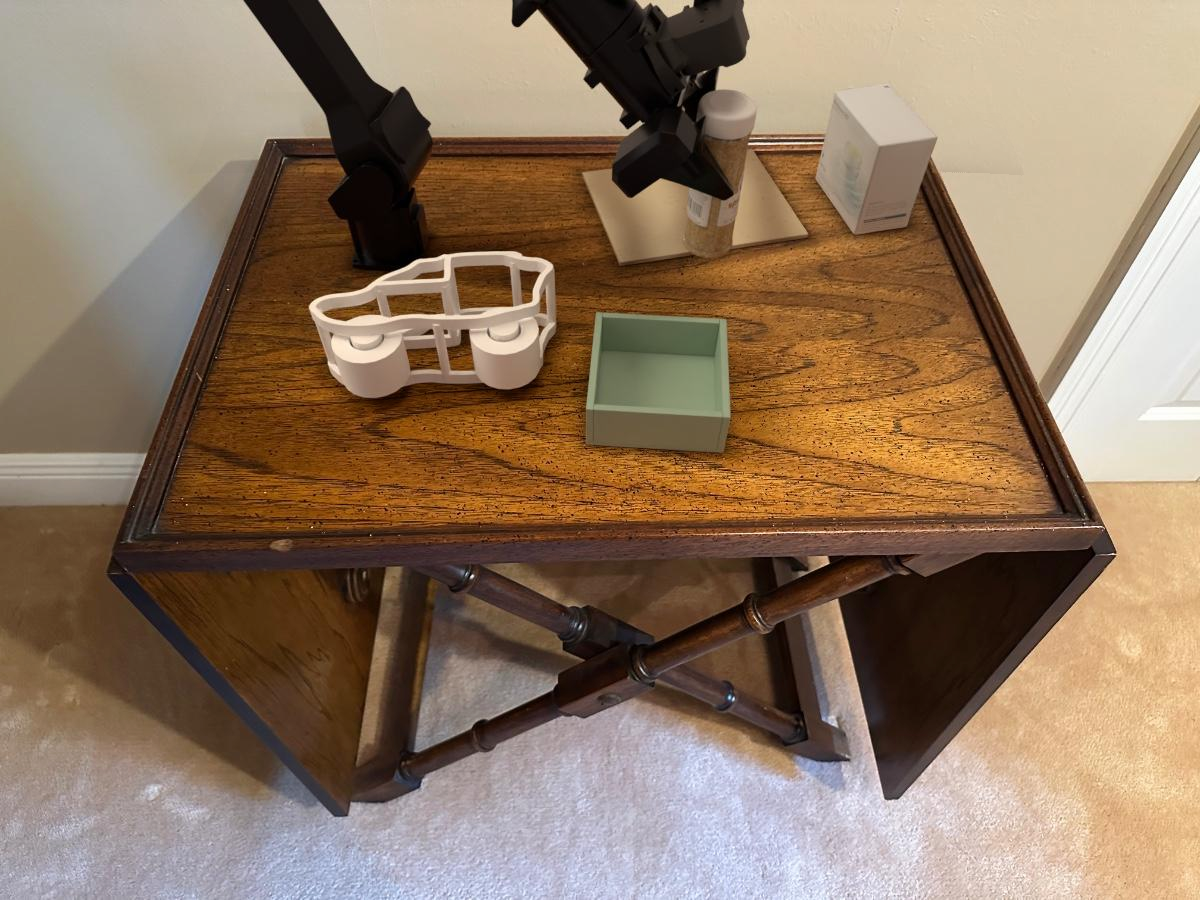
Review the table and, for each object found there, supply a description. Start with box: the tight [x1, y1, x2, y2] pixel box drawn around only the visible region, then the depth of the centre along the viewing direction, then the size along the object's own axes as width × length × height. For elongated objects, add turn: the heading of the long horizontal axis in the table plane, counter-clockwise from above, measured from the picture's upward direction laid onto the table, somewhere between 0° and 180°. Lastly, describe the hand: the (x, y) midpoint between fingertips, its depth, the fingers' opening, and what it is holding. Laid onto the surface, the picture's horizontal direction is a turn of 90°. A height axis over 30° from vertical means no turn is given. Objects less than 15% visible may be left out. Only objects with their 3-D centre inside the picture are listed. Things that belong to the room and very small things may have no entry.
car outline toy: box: [308, 250, 557, 399], centre depth 70 cm, size 20×11×7 cm, turn 96°
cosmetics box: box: [814, 82, 938, 236], centre depth 85 cm, size 10×6×10 cm, turn 14°
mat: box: [581, 149, 809, 267], centre depth 88 cm, size 20×16×1 cm
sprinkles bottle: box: [683, 89, 758, 259], centre depth 69 cm, size 5×5×14 cm
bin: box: [585, 311, 732, 454], centre depth 69 cm, size 11×11×4 cm
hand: (732, 181), depth 69 cm, fingers closed on sprinkles bottle, 4 cm apart
